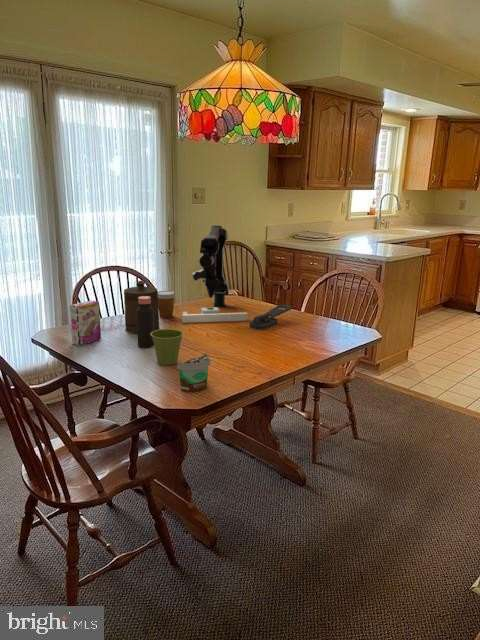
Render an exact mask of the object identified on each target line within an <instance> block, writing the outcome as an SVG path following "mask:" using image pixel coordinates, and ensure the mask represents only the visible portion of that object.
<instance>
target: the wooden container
mask: <svg viewBox="0 0 480 640" xmlns="http://www.w3.org/2000/svg"><path fill="white" fill-rule="evenodd" d="M158 292H159V291H158V288H156V287H154V286H145V282H144V281H143V280H138V281H137V282H136V286H131V287H127V288H125V289H124V290H123V299H124V301H123V302H124V322H125V331H126V332H128V333H131V334H133V335H134V334H135V335H137V316H136V310H137V308H138V307H139V303H138V297H141V296H149V297H151V304H150V306H151V307H152V308H153V310H154V331H156V330H160V315H159V309H158Z"/></svg>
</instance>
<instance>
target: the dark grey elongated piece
mask: <svg viewBox="0 0 480 640" xmlns="http://www.w3.org/2000/svg"><path fill="white" fill-rule="evenodd" d="M290 310H293V307H292V306H291V305H286V304H278V305H277V306H275V307H273V308H271V309H270V310H268V311H266V312H265V313H263V314H260V315H257V316H254V317H253V320H251V321H250V322H249V328H250V329H252V328H253V329H254V330H257V331H263V330H264V331H265V330H268V329H270V328H273V327H275V326H277V325H278V324H279V323H278V319H276V317H279V316H280V315H282V314H284V313H287V312H289V311H290Z"/></svg>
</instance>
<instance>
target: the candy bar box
mask: <svg viewBox="0 0 480 640" xmlns="http://www.w3.org/2000/svg"><path fill="white" fill-rule="evenodd" d="M100 309H101V308H100V302H99V301H97V300H96V301H95V300H92V299H91V300H88V301H83V302H77V303H74V304H70V305H69V313H70V327H71V343H74V344H73V345H75V344H77V345H76V346H78V345H81V346H83V345H82V344H84V345H86V344H85V343H87V344H90V343H89V342H91V343H93V342H92V341H94V342H97V341H100V340H99V339H101V340H102V333H101V331H102V330H101V329H102V327H101V311H100ZM96 340H97V341H96Z"/></svg>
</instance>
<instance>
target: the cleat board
mask: <svg viewBox="0 0 480 640" xmlns="http://www.w3.org/2000/svg"><path fill="white" fill-rule="evenodd" d="M248 316H249V315H248V312H223V313H220V312H219V313H213V314H201V313H188V311H182V324H183V323H184V324H185V323H186V324H187V323H188V324H189V323H210V322H211V323H213V322H215V323H217V322H218V323H219V322H239V321H240V322H243V321H244V322H247V321H248V319H249V317H248Z"/></svg>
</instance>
